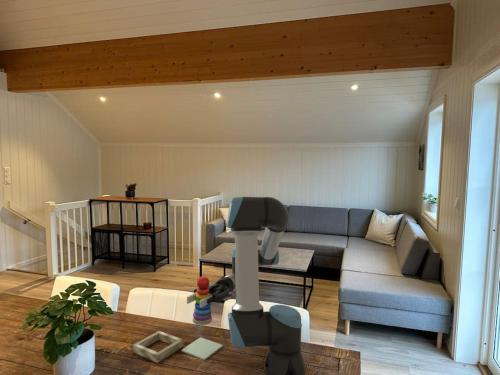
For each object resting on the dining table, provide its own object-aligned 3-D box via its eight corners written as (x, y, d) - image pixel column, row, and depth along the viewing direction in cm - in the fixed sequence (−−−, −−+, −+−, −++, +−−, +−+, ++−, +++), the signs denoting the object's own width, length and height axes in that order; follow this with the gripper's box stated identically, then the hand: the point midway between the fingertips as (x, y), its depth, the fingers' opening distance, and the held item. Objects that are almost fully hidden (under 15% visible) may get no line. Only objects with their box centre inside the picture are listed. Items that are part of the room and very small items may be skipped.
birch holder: (182, 346, 143) (182, 339, 143) (157, 362, 131) (157, 355, 131) (159, 337, 150) (158, 330, 150) (132, 352, 139) (132, 344, 138)
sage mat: (222, 346, 143) (222, 345, 143) (204, 360, 133) (204, 358, 133) (200, 338, 150) (200, 337, 150) (181, 351, 140) (181, 349, 139)
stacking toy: (208, 327, 136) (208, 280, 135) (189, 325, 138) (189, 279, 136) (214, 318, 144) (214, 274, 142) (196, 316, 145) (196, 273, 144)
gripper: (245, 297, 151) (212, 317, 131) (211, 288, 160) (176, 305, 141) (245, 280, 150) (213, 298, 130) (211, 272, 160) (176, 288, 140)
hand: (194, 302), depth 136 cm, fingers closed on stacking toy, 6 cm apart
